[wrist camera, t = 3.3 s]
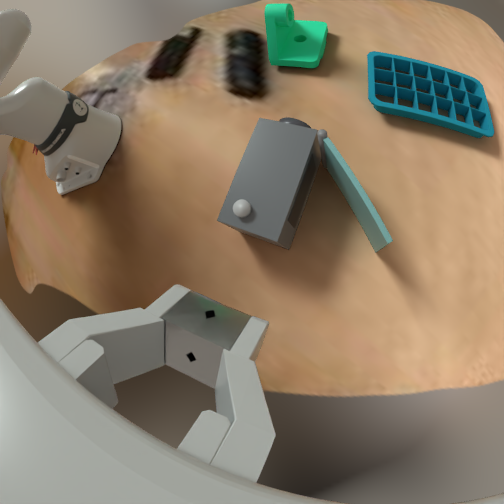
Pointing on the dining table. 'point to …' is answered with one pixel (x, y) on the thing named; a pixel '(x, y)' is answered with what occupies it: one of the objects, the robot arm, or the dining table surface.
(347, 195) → the side door
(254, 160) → the action camera
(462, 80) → the ice cube tray
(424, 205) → the dining table surface
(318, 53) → the camera mount
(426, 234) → the dining table surface
